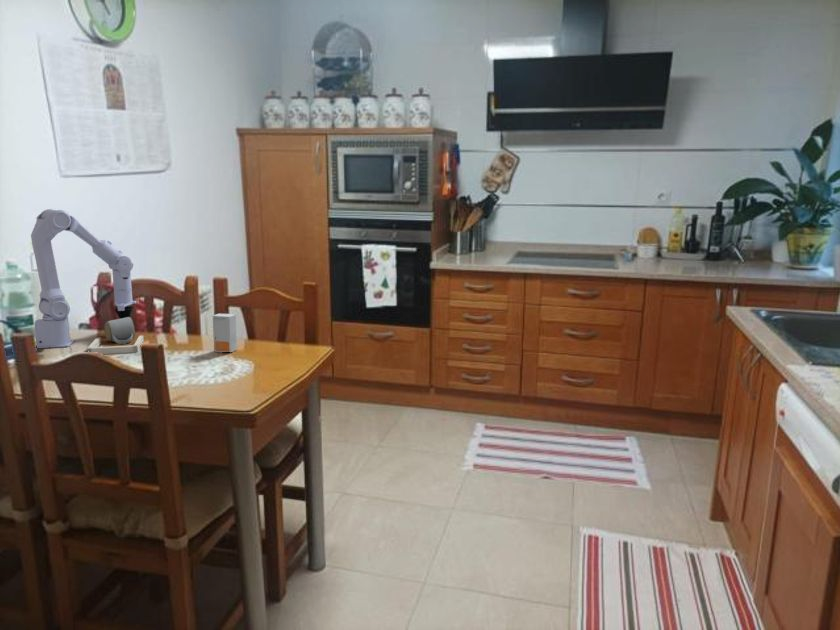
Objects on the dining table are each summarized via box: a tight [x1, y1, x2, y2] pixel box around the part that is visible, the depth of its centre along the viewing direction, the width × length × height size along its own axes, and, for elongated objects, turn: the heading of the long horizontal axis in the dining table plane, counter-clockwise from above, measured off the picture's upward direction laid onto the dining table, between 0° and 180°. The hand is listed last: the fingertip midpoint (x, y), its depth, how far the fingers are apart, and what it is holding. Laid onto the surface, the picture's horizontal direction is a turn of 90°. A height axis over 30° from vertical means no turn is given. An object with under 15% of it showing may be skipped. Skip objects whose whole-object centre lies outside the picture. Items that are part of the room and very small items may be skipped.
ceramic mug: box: [104, 317, 136, 345], centre depth 213 cm, size 11×8×8 cm
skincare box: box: [212, 312, 238, 353], centre depth 201 cm, size 6×4×12 cm
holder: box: [86, 335, 145, 355], centre depth 205 cm, size 14×15×2 cm
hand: (125, 327), depth 224 cm, fingers closed
